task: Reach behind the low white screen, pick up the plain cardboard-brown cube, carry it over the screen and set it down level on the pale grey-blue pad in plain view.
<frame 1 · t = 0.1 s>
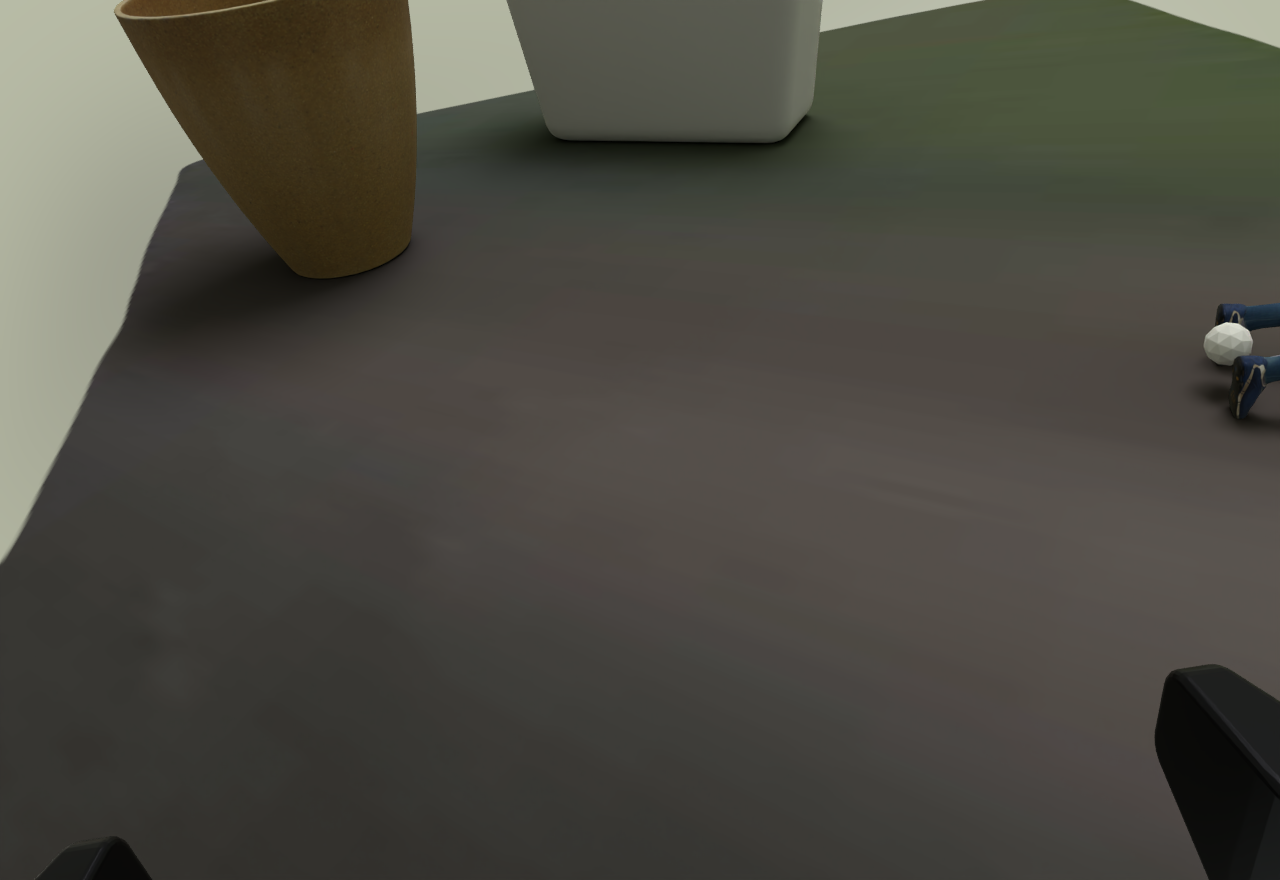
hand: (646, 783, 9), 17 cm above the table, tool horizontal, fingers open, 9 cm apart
radio: (682, 128, 75), on the table
plant pot: (350, 257, 64), on the table
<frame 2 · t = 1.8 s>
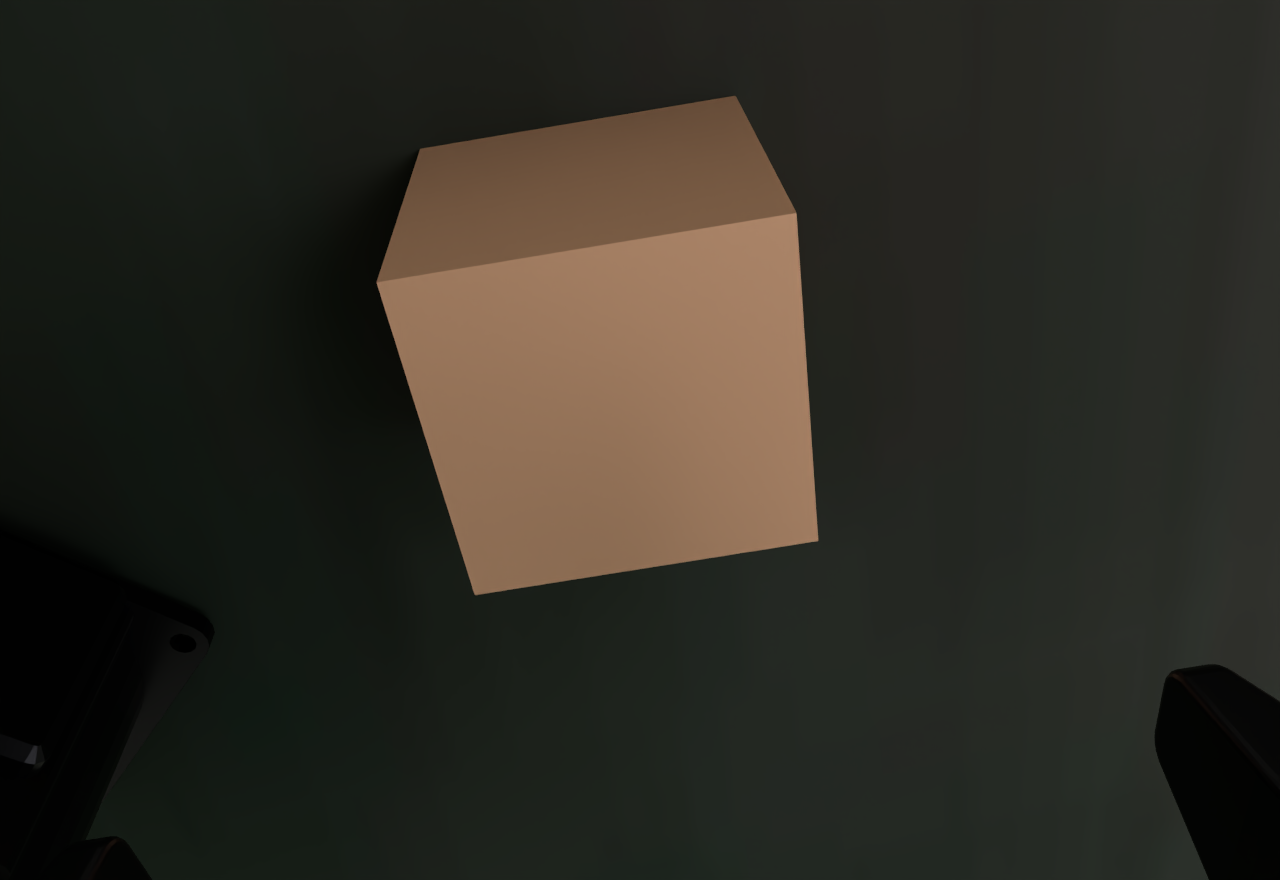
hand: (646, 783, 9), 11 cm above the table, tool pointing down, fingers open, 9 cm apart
plain cardboard-brown cube: (603, 265, 18), on the table
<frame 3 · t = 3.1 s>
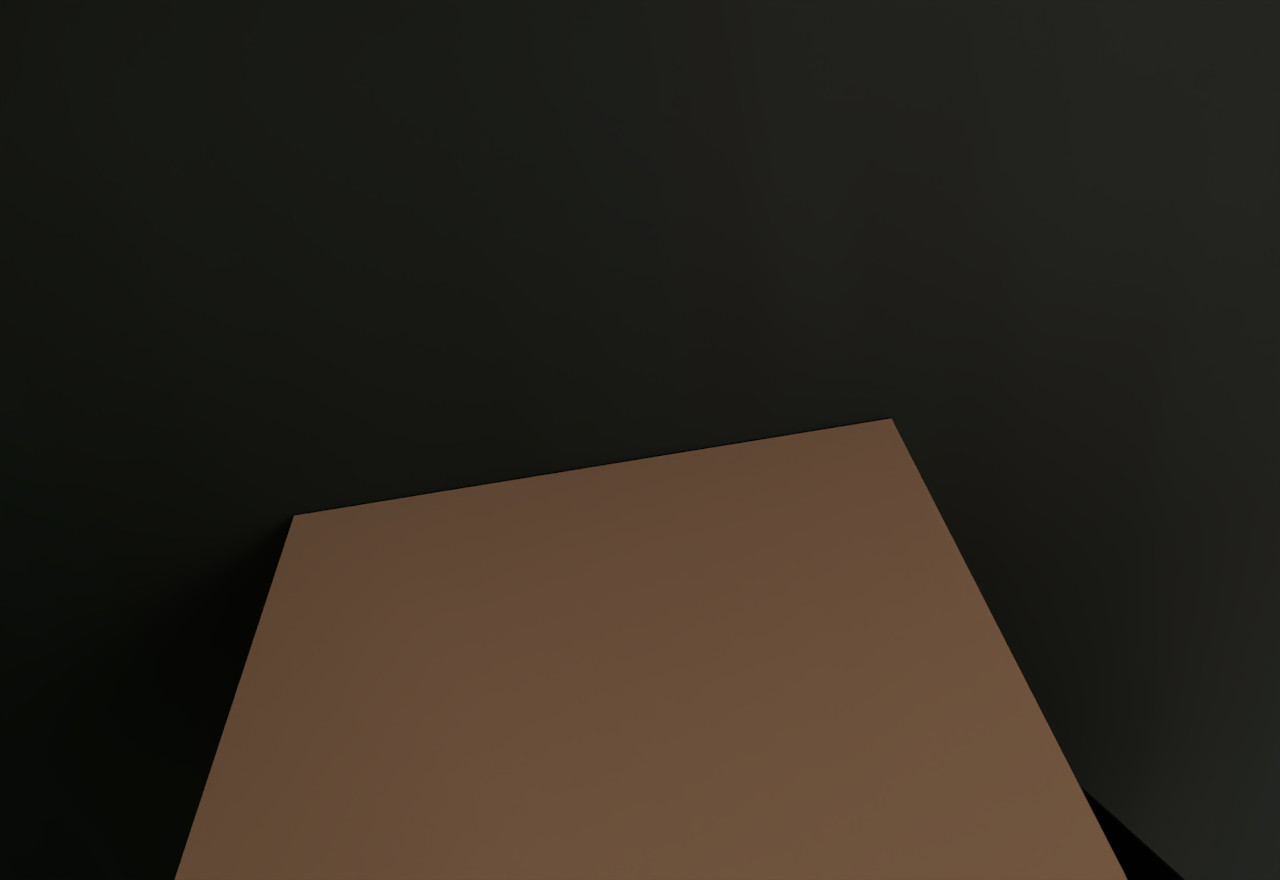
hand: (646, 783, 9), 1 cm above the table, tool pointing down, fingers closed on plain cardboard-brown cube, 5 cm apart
plain cardboard-brown cube: (635, 677, 10), on the table, touching gripper
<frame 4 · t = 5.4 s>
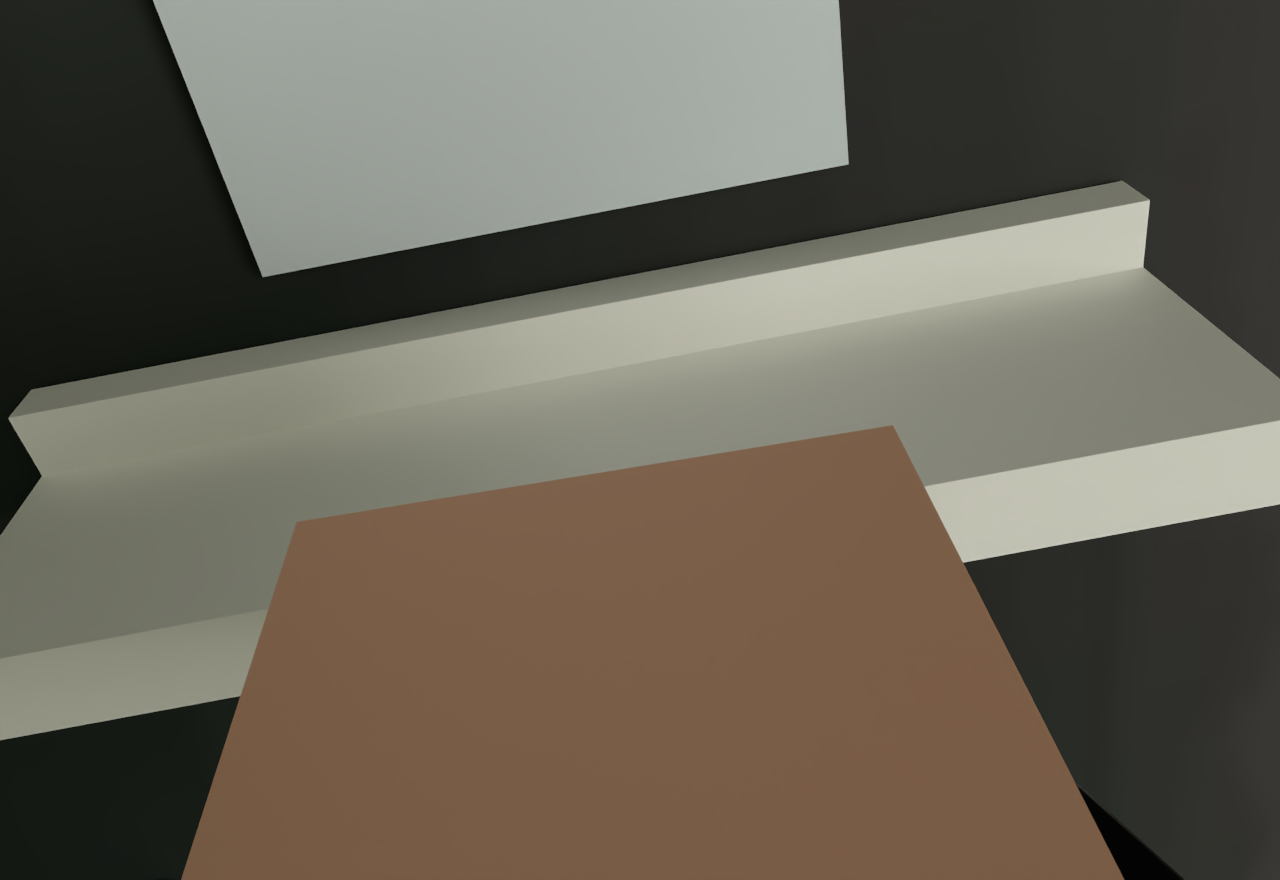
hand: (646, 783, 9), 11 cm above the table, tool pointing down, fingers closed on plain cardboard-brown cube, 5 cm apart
plain cardboard-brown cube: (637, 682, 10), point 10 cm above the table, touching gripper
white screen: (592, 381, 20), on the table
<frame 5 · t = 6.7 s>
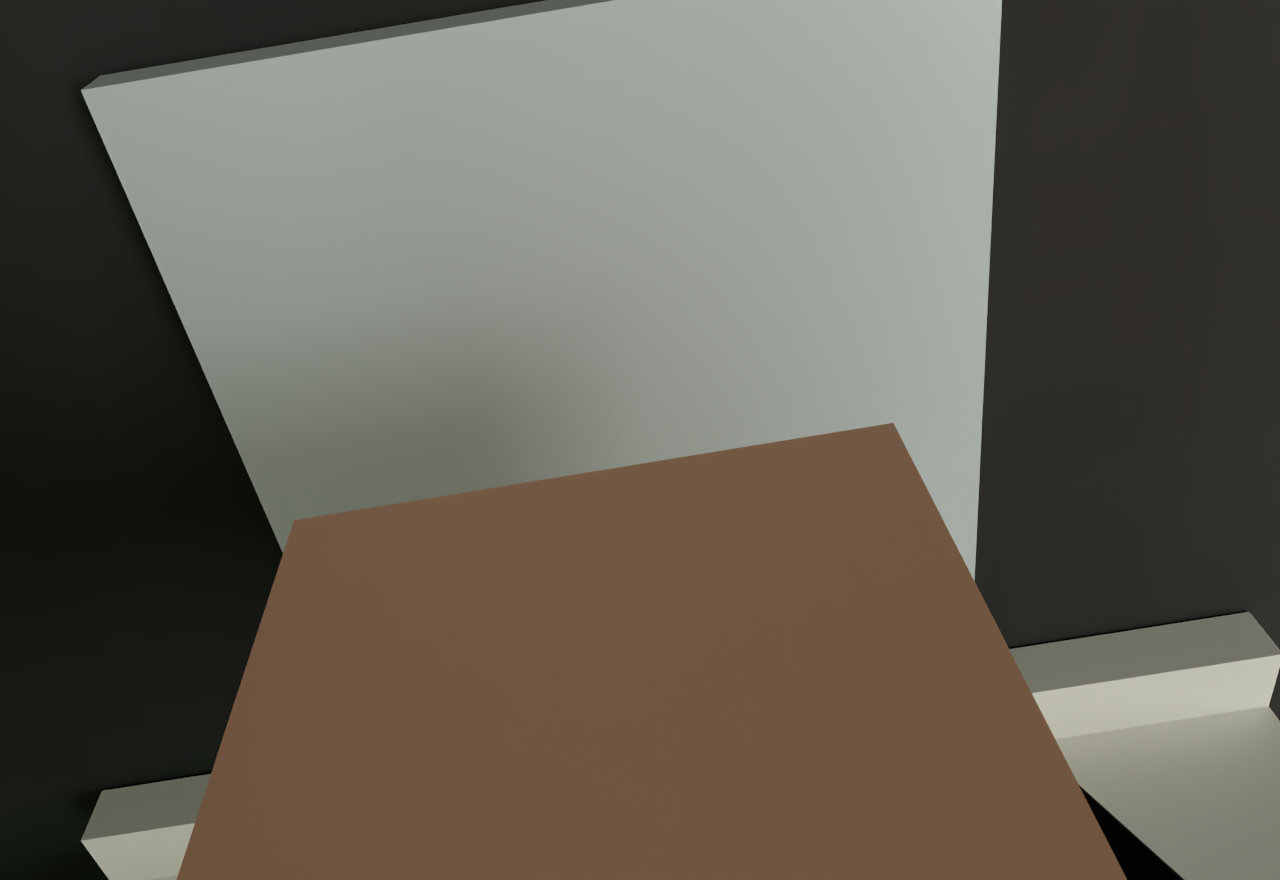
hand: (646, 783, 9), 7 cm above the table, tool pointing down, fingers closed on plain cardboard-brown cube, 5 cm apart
plain cardboard-brown cube: (636, 682, 10), point 5 cm above the table, touching gripper
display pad: (610, 382, 14), on the table
white screen: (683, 776, 19), on the table
when the fingers open (3 cm above the table, at t = 7.7 s): plain cardboard-brown cube drops 1 cm, resting on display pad.
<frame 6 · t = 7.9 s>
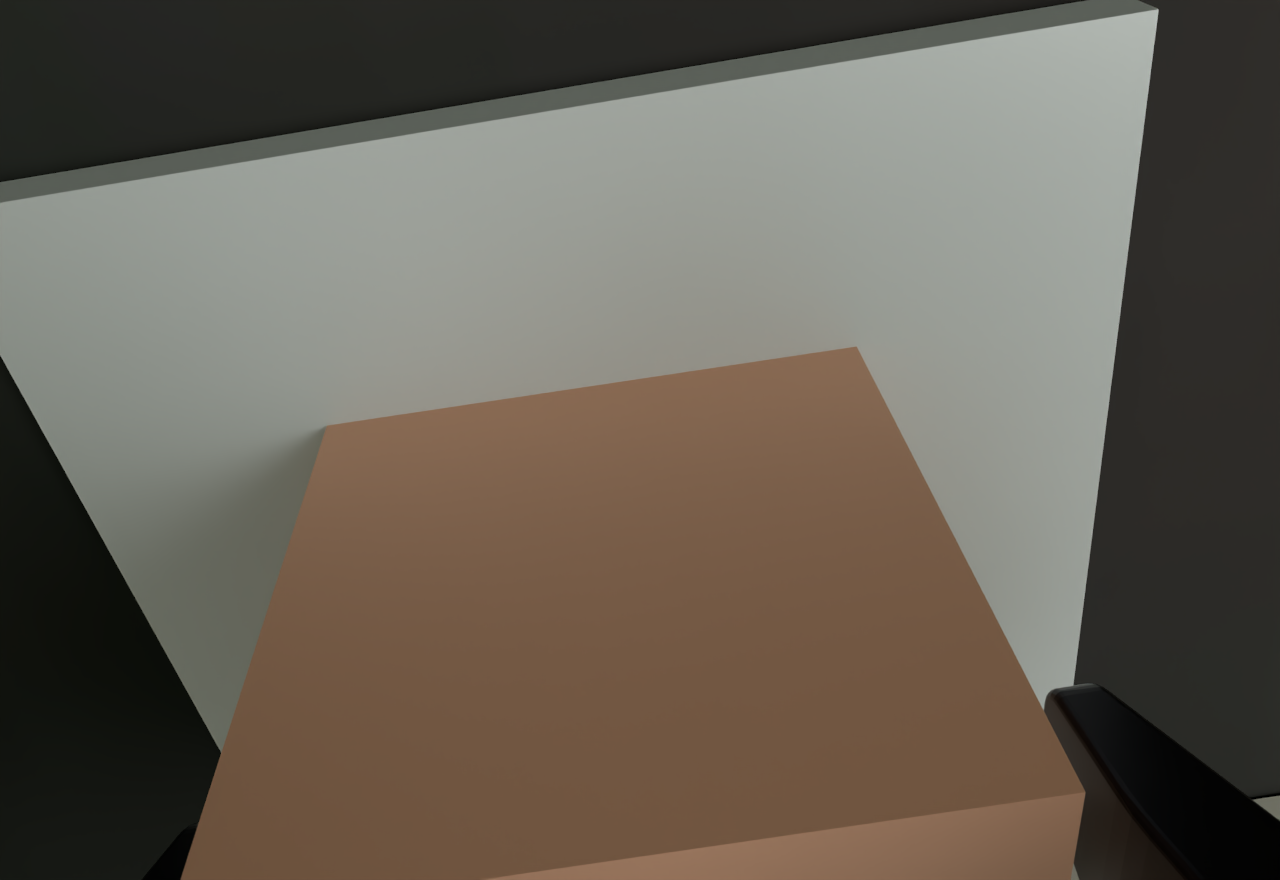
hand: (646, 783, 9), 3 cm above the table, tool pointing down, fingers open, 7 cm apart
plain cardboard-brown cube: (627, 585, 11), point 1 cm above the table, touching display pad
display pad: (623, 544, 12), on the table
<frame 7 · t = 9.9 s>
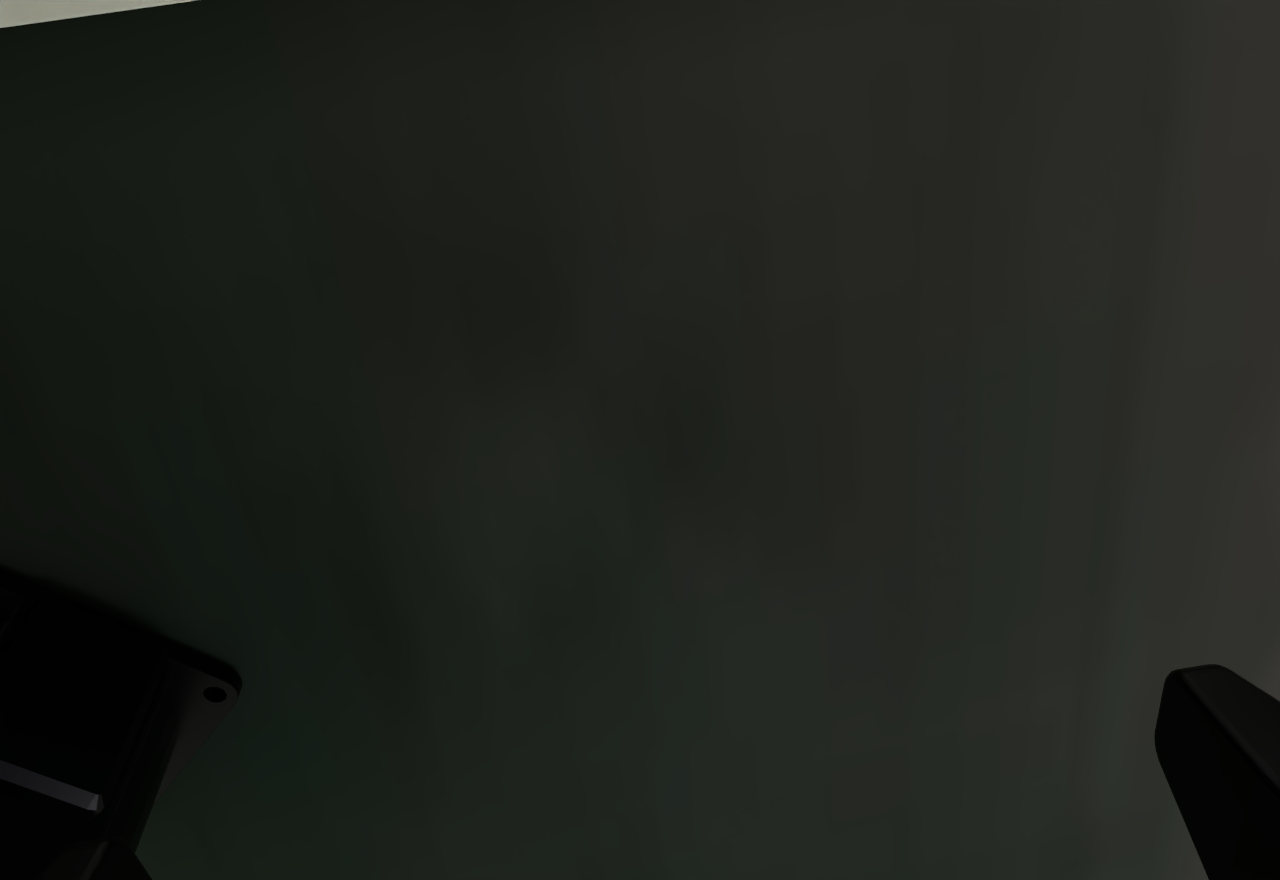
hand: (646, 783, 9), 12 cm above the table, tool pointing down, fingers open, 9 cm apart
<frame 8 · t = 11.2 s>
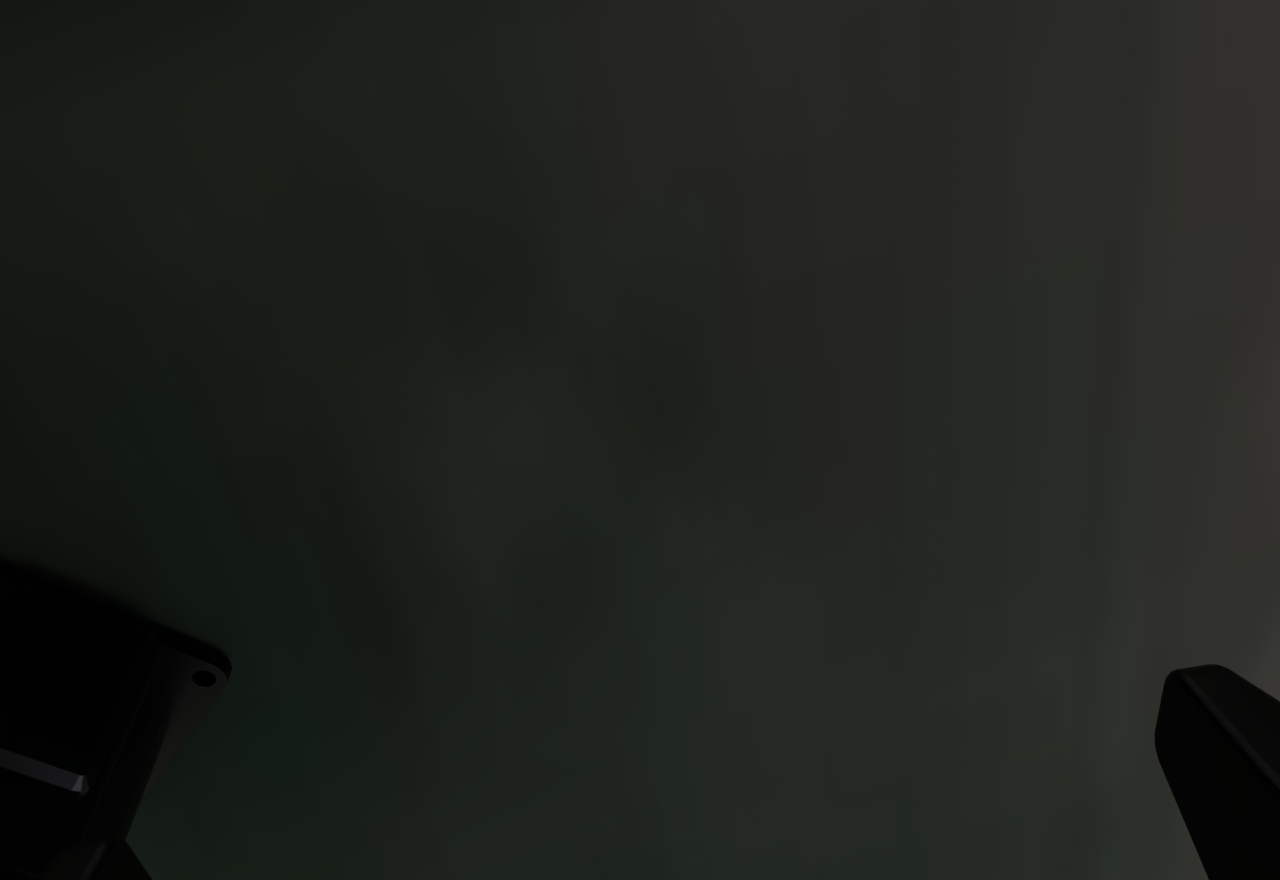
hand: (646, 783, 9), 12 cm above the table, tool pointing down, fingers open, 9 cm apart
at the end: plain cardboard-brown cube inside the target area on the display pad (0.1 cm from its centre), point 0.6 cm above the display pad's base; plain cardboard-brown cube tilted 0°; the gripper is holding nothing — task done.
